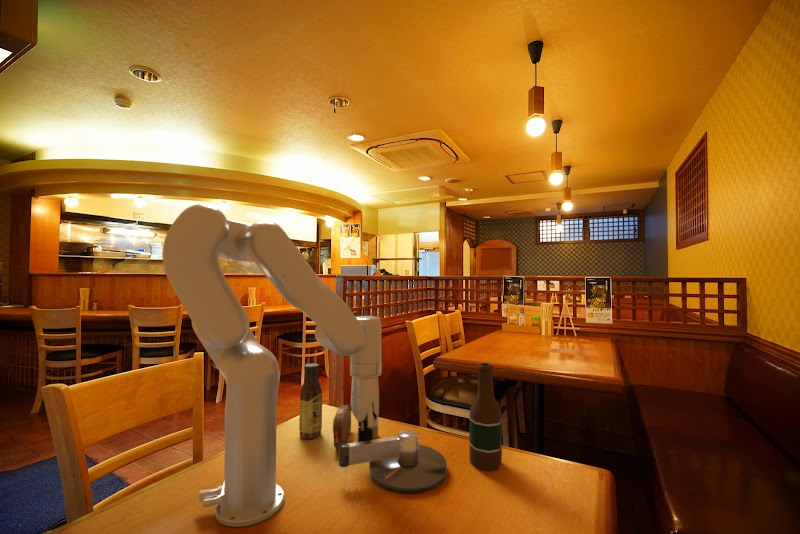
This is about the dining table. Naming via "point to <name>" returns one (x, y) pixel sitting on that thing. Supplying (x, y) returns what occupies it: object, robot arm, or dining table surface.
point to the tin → (342, 425)
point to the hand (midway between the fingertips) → (365, 444)
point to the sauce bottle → (310, 404)
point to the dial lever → (382, 450)
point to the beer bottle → (485, 424)
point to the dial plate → (410, 473)
